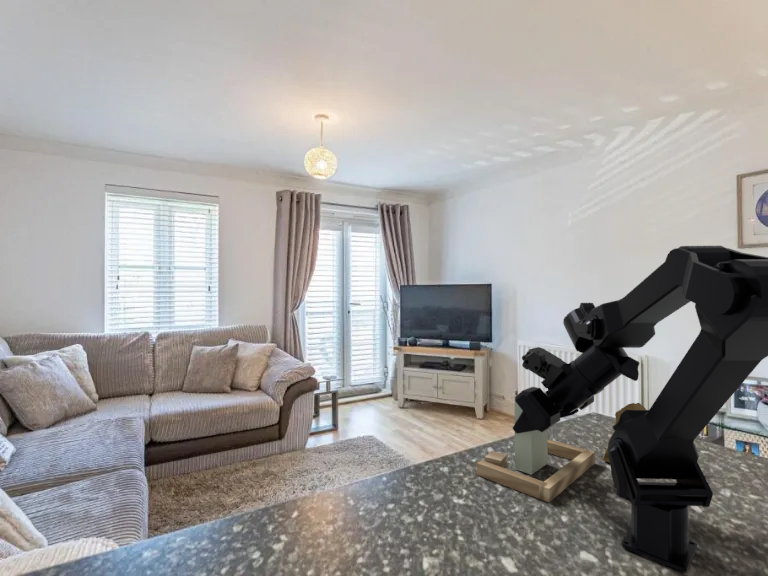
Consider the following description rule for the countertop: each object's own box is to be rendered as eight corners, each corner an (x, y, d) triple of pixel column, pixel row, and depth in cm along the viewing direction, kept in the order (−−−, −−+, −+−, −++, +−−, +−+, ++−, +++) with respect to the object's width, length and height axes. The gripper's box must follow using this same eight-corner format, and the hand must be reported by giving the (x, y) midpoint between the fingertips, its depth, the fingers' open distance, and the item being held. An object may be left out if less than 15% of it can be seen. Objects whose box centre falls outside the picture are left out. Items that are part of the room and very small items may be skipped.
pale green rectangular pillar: (531, 474, 68) (531, 402, 68) (514, 469, 71) (514, 398, 70) (547, 463, 73) (547, 395, 72) (531, 458, 75) (531, 392, 75)
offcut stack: (498, 476, 68) (498, 462, 68) (480, 469, 71) (480, 455, 70) (509, 469, 71) (509, 455, 71) (492, 463, 73) (492, 449, 73)
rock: (623, 460, 69) (671, 446, 71) (595, 411, 73) (641, 399, 76) (590, 475, 77) (634, 462, 80) (567, 430, 82) (610, 419, 84)
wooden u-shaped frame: (549, 502, 60) (549, 488, 60) (476, 474, 69) (476, 462, 69) (594, 463, 73) (594, 452, 73) (529, 444, 82) (529, 434, 82)
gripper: (575, 329, 75) (519, 379, 83) (526, 338, 62) (465, 398, 70) (624, 379, 69) (558, 428, 77) (581, 401, 56) (508, 458, 64)
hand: (523, 426), depth 73 cm, fingers closed on pale green rectangular pillar, 6 cm apart
